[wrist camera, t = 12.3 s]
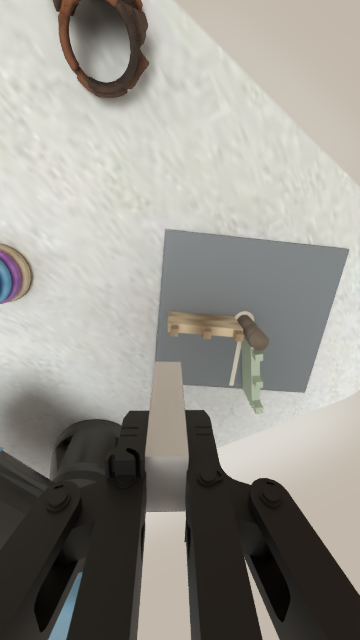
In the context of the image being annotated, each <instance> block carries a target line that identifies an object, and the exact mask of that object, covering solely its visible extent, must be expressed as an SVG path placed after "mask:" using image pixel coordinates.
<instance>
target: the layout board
mask: <svg viewBox="0 0 360 640" xmlns="http://www.w3.org/2000/svg"><path fill="white" fill-rule="evenodd" d="M348 252H349V249H343V248H334V247H324V246H315V245H306V244H297V243H287V242H278V241H269V240H259V239H250V238H241V237H231V236H222V235H213V234H204V233H194V232H185V231H176V230H165V242H164V255H163V267H162V280H161V293H160V305H159V318H158V331H157V343H156V356H155V362H181V371H182V383H183V385H196V386H211V387H226V388H242V389H243V385H242V350H241V342H238V341H235V340H234V338H233V337H226V336H213V335H211V339H203V337H202V335H201V334H188V333H178V337H174V336H170V332H168V311H174V312H186V313H198V314H209V315H221V316H233V317H235V318H236V320H237V319H238V318H239V317H240V316H241V315H248V316H249V317H250V318H251V319H252V320H253V321H254V322H255V323H256V325H257V326H258V327H259V328H260V329H261V330H262V331H263V333H264V334H265V335H266V336H267V337H268V339H269V345H268V347H267V348H266V349H264V350H261V352H262V353H263V361H260V377H261V379H262V381H263V388H260V390H272V391H288V392H303V393H305V390H306V387H307V384H308V381H309V377H310V374H311V371H312V368H313V365H314V361H315V358H316V355H317V352H318V349H319V345H320V342H321V339H322V336H323V332H324V329H325V326H326V323H327V320H328V316H329V313H330V310H331V307H332V304H333V300H334V297H335V294H336V291H337V288H338V284H339V281H340V278H341V275H342V272H343V268H344V265H345V262H346V259H347V255H348Z"/></svg>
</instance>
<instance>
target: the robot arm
mask: <svg viewBox="0 0 360 640" xmlns="http://www.w3.org/2000/svg"><path fill="white" fill-rule="evenodd" d="M185 510H186V528H185V542H186V547H187V566H188V586H189V605H190V624H191V640H262V635H261V631H260V626H259V622H258V617H257V613H256V608H255V604H254V599H253V595H252V590H251V586H250V581H249V577H248V573H247V568H246V563H245V560H246V562H247V564H248V567H249V569H250V571H251V573H252V576H253V578H254V581H255V583H256V585H257V588H258V590H259V592H260V594H261V597H262V599H263V602H264V604H265V606H266V609H267V611H268V613H269V616H270V618H271V620H272V623H273V625H274V627H275V630H276V632H277V634H278V637H279V639H280V640H360V595H359V594H358V593H357V591H356V590H355V588H354V587H353V585H352V584H351V582H350V581H349V580H348V578H347V577H346V575H345V574H344V572H343V571H342V569H341V568H340V567H339V565H338V564H337V562H336V561H335V559H334V558H333V556H332V555H331V553H330V552H329V551H328V549H327V548H326V546H325V545H324V543H323V542H322V540H321V539H320V538H319V536H318V535H317V533H316V532H315V530H314V529H313V527H312V526H311V525H310V523H309V522H308V520H307V519H306V517H305V516H304V515H303V513H302V512H301V510H300V509H299V507H298V506H297V504H296V503H295V502H294V500H293V499H292V497H291V496H290V494H289V493H288V491H287V490H286V489H285V488H284V487H283V486H282V485H281V484H279V483H278V482H276V481H274V480H271V479H268V478H259V479H257V480H255V481H254V482H253V483H252V485H249V484H246V483H242V482H239V481H237V480H234V479H232V478H231V477H229V476H228V475H227V474H226V473H225V472H224V471H223V469H222V468H221V466H220V463H219V458H218V454H217V449H216V444H215V439H214V436H213V430H212V425H211V421H210V417H209V416H208V415H207V413H206V412H205V411H204V410H185V406H184V394H183V383H182V371H181V362H155V364H154V373H153V383H152V393H151V402H150V411H129V412H128V414H127V415H126V416H125V417H124V419H123V423H122V426H120V425H118V424H115V423H113V422H109V421H104V420H87V421H82V422H79V423H76V424H74V425H72V426H70V427H69V428H67V429H66V430H65V431H64V432H63V433H62V434H61V436H60V437H59V439H58V441H57V443H56V445H55V447H54V450H53V453H52V459H51V469H50V478H49V479H48V478H46V477H45V476H43V475H41V474H40V473H38V472H36V471H35V470H33V469H31V468H30V467H28V466H27V465H25V464H23V463H22V462H20V461H19V460H17V459H15V458H14V457H12V456H11V455H9V454H8V453H6V452H4V451H3V448H2V447H0V640H137V630H138V617H139V605H140V590H141V577H142V565H143V551H144V538H145V514H146V512H169V511H171V512H172V511H185ZM244 557H245V559H244Z"/></svg>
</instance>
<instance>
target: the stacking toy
mask: <svg viewBox="0 0 360 640" xmlns="http://www.w3.org/2000/svg"><path fill="white" fill-rule="evenodd" d="M30 281H31V274H30V270H29V267H28V265H27V263H26V261H25V260H24V259H23V257H22V256H21V255H20V254H19V253H17V252H16V251H15V250H13V249H11V248H9V247H7V246H4V245H0V304H3V303H6V302H11V301H15V300H17V299H19V298H21V297H22V296H23V295H24V294H25V293H26V292H27V290H28V288H29V286H30Z"/></svg>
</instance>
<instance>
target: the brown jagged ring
mask: <svg viewBox="0 0 360 640" xmlns="http://www.w3.org/2000/svg"><path fill="white" fill-rule="evenodd" d="M80 1H81V0H53V2H54V6H55V9H56V11H57V12H59V11H60V14H59V15H58V21H59V37H60V43H61V46H62V50H63V53H64V56H65V58H66V60H67V62H68V64H69V66H70V67H71V69H72V70H73V71H74V72H75V74H76V75H77V79H78V80H79V82H80V83H81V84H82V85H83V86H84V87H85V88H87V89H88V90H89V91H91V92H93V93H94V94H95V95H97V96H99V97H107V98H114V97H119V96H122V95H125V94H126V93H127V90H128V89H132V88H133V87H134V86H135V85H136V83H137V81H138V80H139V78H140V76H141V75H142V73H143V72H144V70H145V69H146V68H147V66H148V65H149V62H148V61H147V60H146V58H145V57H144V55H143V54H142V52H141V50H140V46H141V45H142V44H143V43H144V40H145V37H146V30H147V28H148V23H147V19H146V16H145V13H144V12H139V11H141V9H142V6H143V4H142V2H141V0H132V1H133V3H134V4H135V6H136V7H137V9H138V10H139V11H138V10H137V9H135V8H133V7H131V6H129V5H127V4H126V3H124V2H122V1H123V0H104V1H106V2H107V3H109V4H110V5H111V6H112V7H113V8H114V9H116V10H117V12H118V13H119V15H120V16H121V18H122V19H123V21H124V23H125V26H126V28H127V31H128V35H129V40H130V50H131V54H130V60H129V64H128V67H127V69H126V71H125V73H124V74H123V75H122V76H121V77H120V78H119V79H117V80H116V81H113V82H109V83H104V82H100V81H97V80H95V79H93V78H91V77H88V76H87V75H86V74H85V73H84V72H83V71H82V69H81V68H80V67H79V63H78V61H77V60H76V58H75V56H74V53H73V51H72V47H71V44H70V38H69V22H70V16H73V15H74V13H75V10H76V7H77V6H78V4H79V2H80Z"/></svg>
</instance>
